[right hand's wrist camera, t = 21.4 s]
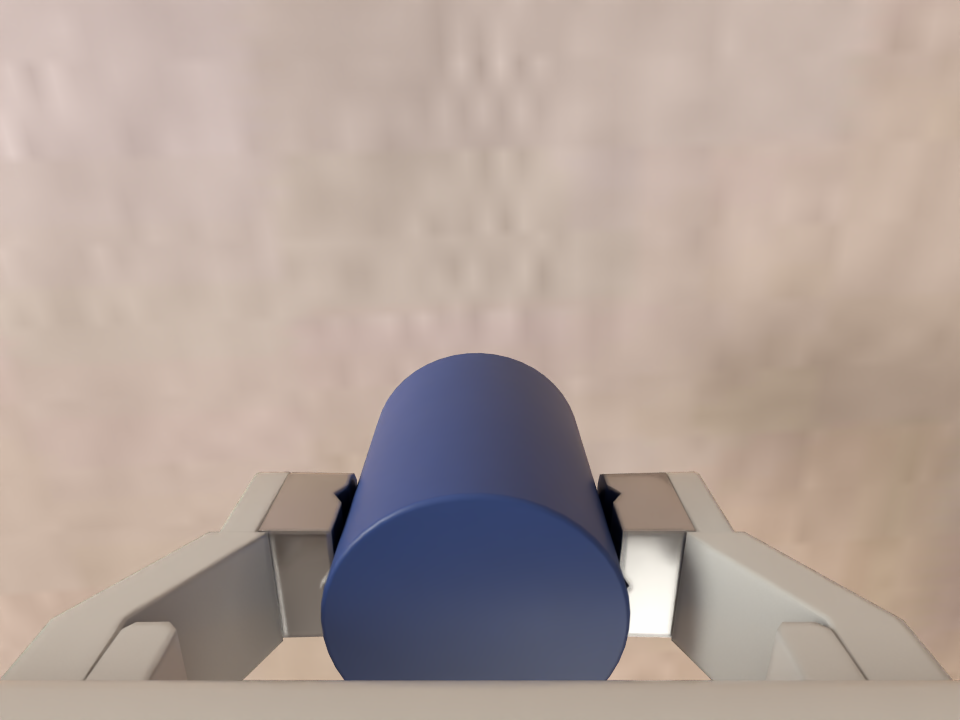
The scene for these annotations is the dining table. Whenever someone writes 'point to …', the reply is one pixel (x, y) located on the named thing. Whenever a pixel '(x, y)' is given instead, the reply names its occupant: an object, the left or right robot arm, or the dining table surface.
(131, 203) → the dining table surface
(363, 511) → the canister
